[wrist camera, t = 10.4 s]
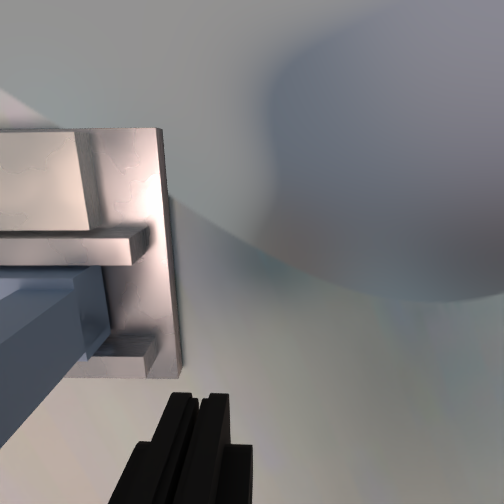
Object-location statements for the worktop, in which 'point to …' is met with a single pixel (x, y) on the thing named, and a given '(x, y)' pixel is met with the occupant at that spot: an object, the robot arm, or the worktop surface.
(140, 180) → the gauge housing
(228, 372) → the worktop surface
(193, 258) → the worktop surface
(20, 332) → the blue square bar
